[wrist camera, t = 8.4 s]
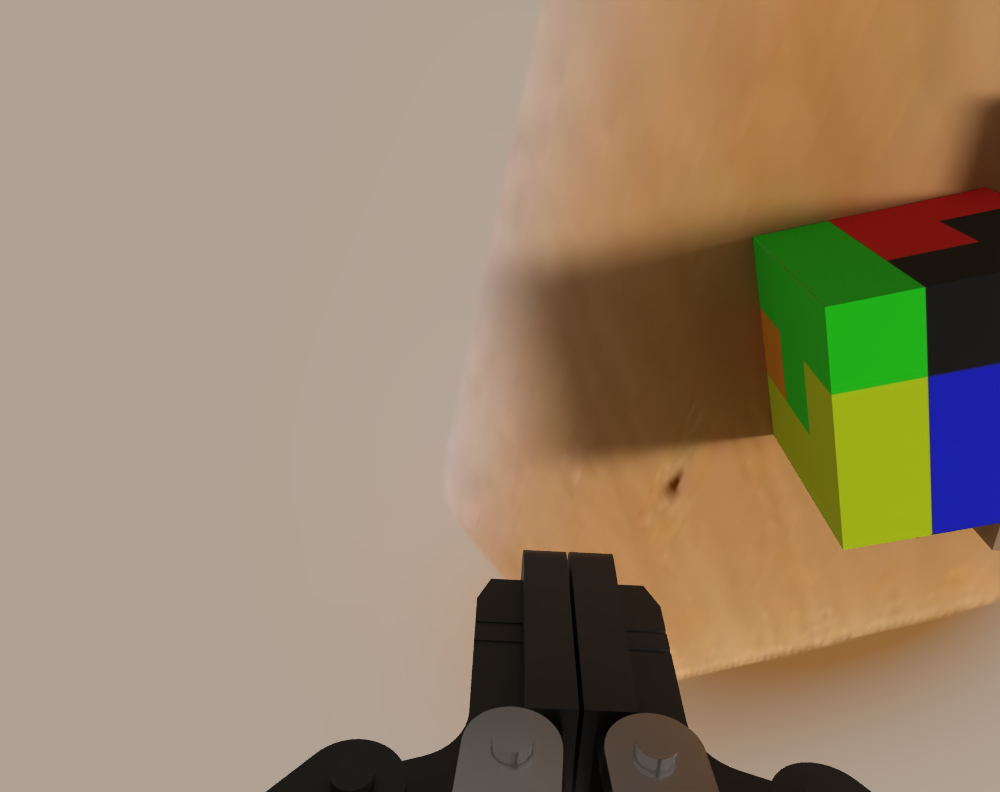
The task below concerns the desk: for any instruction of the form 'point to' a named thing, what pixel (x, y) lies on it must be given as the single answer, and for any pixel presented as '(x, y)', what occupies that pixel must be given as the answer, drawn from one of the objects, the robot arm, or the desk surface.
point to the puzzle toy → (889, 364)
